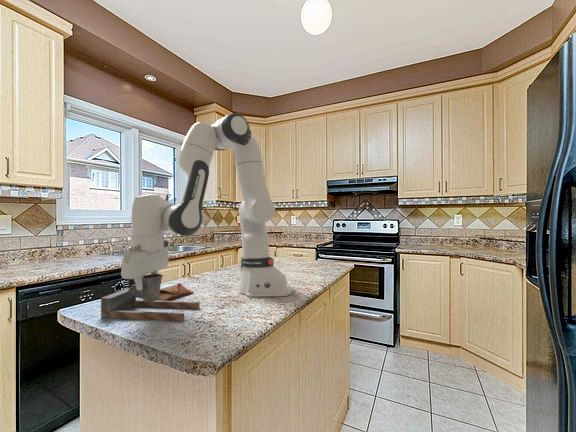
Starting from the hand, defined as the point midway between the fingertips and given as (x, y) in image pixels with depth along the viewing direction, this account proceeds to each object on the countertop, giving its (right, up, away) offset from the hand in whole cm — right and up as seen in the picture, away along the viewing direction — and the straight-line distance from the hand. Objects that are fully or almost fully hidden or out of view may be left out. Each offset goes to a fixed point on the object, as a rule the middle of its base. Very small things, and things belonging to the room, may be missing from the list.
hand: (146, 287), depth 92 cm
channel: (+2, -8, 0) cm, 8 cm away
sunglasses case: (+1, -9, +17) cm, 19 cm away
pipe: (-1, -4, 0) cm, 4 cm away
